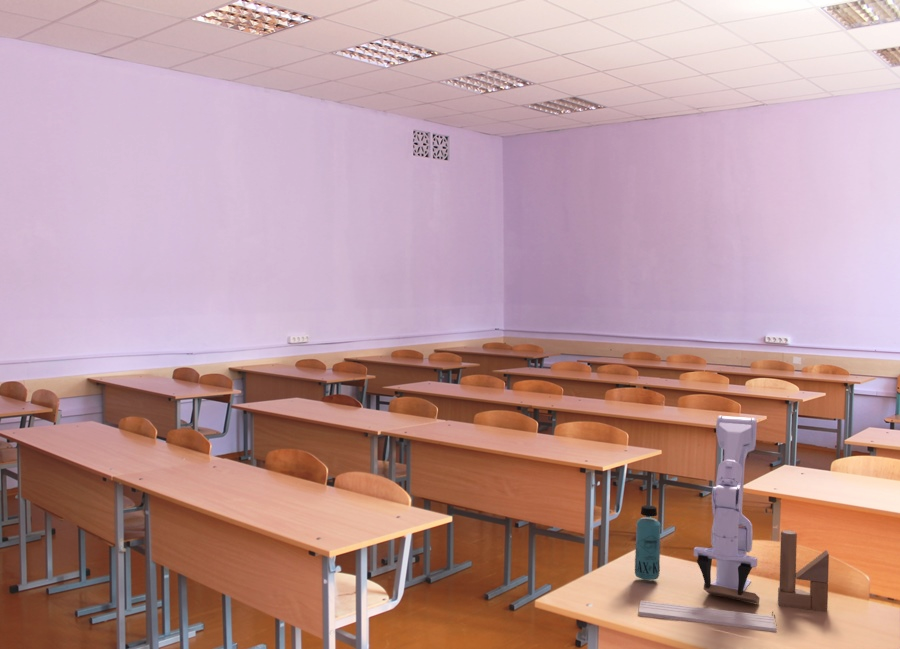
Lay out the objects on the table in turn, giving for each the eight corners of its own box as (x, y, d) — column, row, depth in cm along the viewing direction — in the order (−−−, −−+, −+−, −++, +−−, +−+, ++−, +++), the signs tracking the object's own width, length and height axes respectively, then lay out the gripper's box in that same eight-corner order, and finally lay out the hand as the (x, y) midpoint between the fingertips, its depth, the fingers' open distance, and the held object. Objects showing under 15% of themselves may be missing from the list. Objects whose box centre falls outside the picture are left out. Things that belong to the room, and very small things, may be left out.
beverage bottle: (629, 578, 208) (631, 504, 207) (651, 576, 210) (652, 502, 209) (642, 587, 202) (644, 510, 201) (665, 584, 203) (666, 508, 203)
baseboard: (640, 602, 193) (638, 618, 183) (641, 591, 193) (638, 606, 183) (772, 618, 184) (776, 635, 174) (772, 606, 184) (777, 622, 174)
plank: (708, 593, 197) (709, 587, 197) (758, 604, 190) (759, 597, 191) (703, 589, 192) (704, 582, 193) (754, 599, 186) (755, 593, 186)
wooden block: (827, 612, 186) (829, 538, 186) (778, 606, 190) (780, 533, 189) (825, 607, 190) (827, 533, 189) (777, 601, 193) (779, 529, 193)
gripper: (690, 533, 190) (689, 588, 190) (753, 543, 182) (751, 601, 182) (698, 527, 196) (697, 581, 196) (759, 537, 188) (758, 593, 188)
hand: (724, 590), depth 189 cm, fingers open, 7 cm apart
